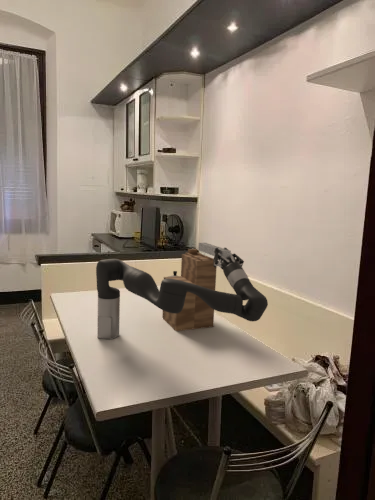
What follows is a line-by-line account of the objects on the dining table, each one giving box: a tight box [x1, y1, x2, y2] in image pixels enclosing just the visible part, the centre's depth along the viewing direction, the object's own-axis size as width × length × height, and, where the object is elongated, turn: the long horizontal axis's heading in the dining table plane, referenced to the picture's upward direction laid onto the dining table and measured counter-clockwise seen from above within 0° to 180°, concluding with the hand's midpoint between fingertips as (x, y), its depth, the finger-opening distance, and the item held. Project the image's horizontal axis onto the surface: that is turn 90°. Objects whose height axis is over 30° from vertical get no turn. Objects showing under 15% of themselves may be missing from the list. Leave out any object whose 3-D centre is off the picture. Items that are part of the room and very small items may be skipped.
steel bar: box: [197, 242, 232, 259], centre depth 171 cm, size 24×4×4 cm, turn 23°
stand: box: [161, 248, 218, 332], centre depth 186 cm, size 18×19×34 cm
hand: (220, 249), depth 165 cm, fingers closed on steel bar, 3 cm apart
